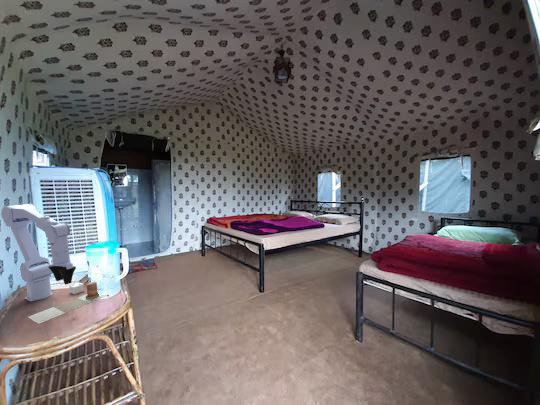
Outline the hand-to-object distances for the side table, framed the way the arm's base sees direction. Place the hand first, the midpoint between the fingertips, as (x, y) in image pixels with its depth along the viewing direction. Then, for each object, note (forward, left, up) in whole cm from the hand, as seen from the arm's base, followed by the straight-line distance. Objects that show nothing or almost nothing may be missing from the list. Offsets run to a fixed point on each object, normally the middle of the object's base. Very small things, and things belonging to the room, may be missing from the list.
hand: (63, 281), depth 109 cm
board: (+6, 0, -9) cm, 11 cm away
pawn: (+6, +8, -9) cm, 13 cm away
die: (-6, +7, -10) cm, 13 cm away
